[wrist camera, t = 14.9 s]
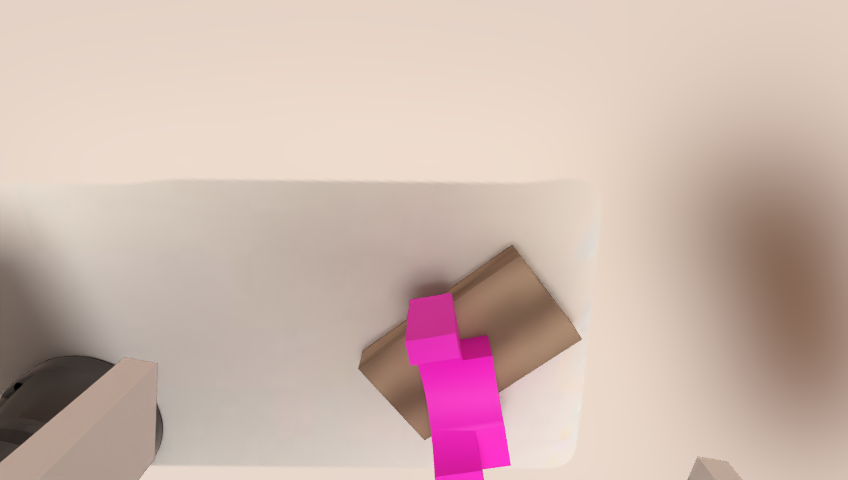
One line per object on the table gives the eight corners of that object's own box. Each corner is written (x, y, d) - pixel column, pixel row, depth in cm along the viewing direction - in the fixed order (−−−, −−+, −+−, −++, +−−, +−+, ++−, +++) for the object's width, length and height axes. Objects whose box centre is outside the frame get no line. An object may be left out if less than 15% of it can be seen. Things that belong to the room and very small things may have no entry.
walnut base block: (364, 346, 47) (358, 368, 43) (511, 242, 44) (518, 256, 40) (424, 413, 49) (424, 440, 45) (569, 319, 46) (581, 339, 42)
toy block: (503, 430, 45) (516, 493, 38) (439, 439, 45) (440, 503, 38) (479, 288, 41) (490, 328, 34) (409, 299, 41) (405, 341, 34)
